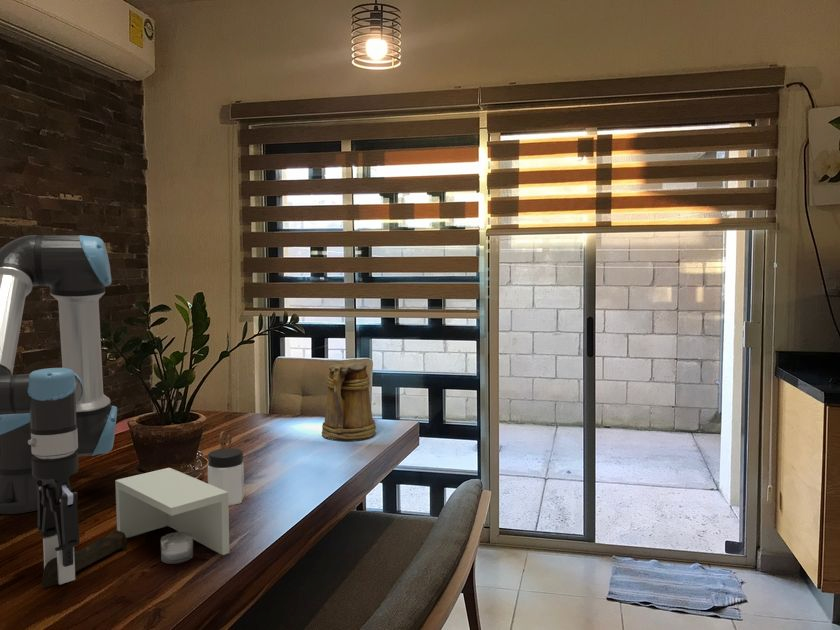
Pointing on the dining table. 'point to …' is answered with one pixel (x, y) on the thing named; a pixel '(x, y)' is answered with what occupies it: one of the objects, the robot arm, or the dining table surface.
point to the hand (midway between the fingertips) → (59, 575)
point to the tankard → (348, 402)
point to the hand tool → (86, 556)
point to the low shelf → (173, 507)
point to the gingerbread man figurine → (225, 441)
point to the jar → (227, 473)
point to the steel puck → (176, 547)
